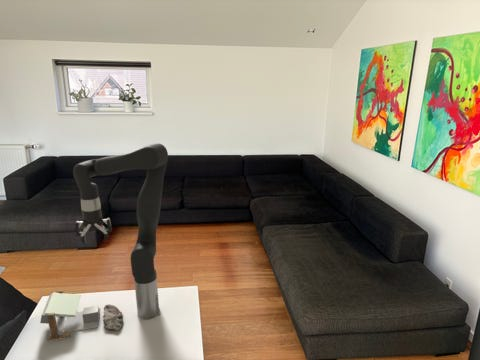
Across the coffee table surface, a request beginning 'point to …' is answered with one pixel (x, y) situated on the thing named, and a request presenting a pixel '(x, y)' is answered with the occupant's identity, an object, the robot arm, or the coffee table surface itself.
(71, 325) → the mat
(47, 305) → the trapdoor
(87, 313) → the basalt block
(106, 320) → the mineral rock
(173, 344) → the coffee table surface
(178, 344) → the coffee table surface
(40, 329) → the coffee table surface
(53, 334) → the frame
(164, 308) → the coffee table surface
